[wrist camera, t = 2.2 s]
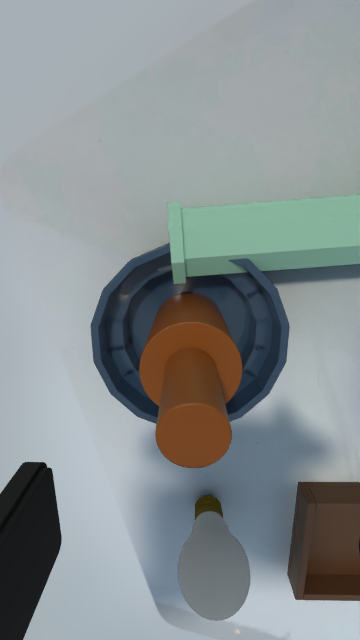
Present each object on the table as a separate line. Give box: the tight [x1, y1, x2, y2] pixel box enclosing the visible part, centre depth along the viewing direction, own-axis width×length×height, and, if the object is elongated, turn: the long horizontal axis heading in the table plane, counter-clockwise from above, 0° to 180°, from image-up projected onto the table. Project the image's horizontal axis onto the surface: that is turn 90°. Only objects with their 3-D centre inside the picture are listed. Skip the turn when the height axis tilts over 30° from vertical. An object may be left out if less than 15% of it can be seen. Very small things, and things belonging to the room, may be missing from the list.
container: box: [167, 194, 360, 284], centre depth 22 cm, size 6×6×25 cm
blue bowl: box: [91, 243, 289, 424], centre depth 25 cm, size 14×14×5 cm
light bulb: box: [178, 496, 250, 621], centre depth 27 cm, size 6×6×10 cm
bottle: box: [139, 293, 242, 468], centre depth 19 cm, size 6×6×15 cm
